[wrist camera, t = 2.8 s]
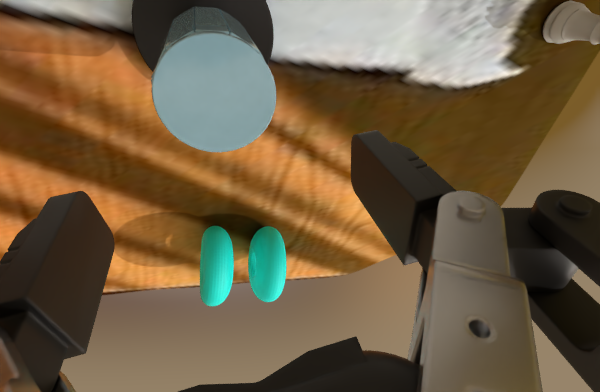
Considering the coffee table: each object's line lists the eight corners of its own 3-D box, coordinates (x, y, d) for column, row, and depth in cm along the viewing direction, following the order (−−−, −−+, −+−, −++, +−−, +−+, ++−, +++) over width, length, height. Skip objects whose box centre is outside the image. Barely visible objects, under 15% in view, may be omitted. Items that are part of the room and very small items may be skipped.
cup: (151, 70, 22) (132, 122, 15) (187, -15, 20) (183, 2, 13) (228, 110, 25) (241, 168, 18) (267, 40, 23) (298, 77, 16)
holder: (114, 55, 28) (47, 140, 15) (167, -89, 24) (134, -141, 11) (234, 116, 35) (258, 213, 22) (294, 10, 30) (370, 54, 17)
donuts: (265, 261, 50) (278, 316, 42) (198, 263, 46) (199, 324, 39) (277, 211, 44) (295, 265, 37) (203, 209, 41) (205, 268, 33)
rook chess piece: (570, 32, 39) (640, 46, 33) (537, 48, 40) (600, 65, 33) (578, -8, 37) (655, 0, 30) (542, 10, 37) (612, 21, 31)
